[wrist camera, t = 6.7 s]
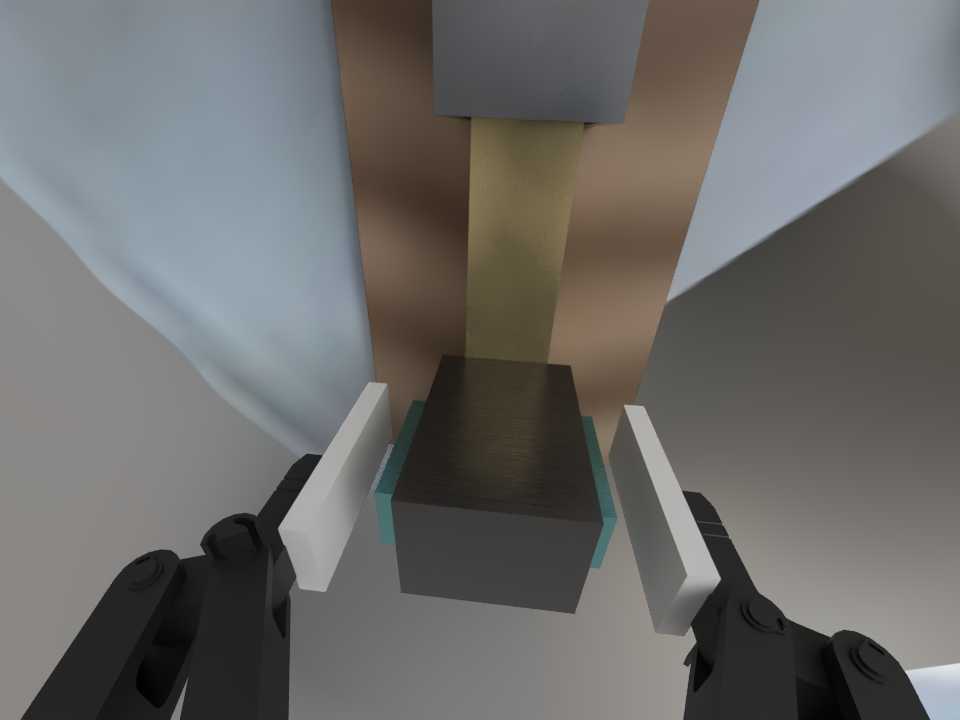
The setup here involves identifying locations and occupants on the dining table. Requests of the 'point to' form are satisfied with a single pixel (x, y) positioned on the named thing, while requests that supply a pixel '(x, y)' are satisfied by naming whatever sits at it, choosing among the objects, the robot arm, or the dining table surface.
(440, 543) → the square head mallet
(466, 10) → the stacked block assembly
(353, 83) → the base board
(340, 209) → the dining table surface
